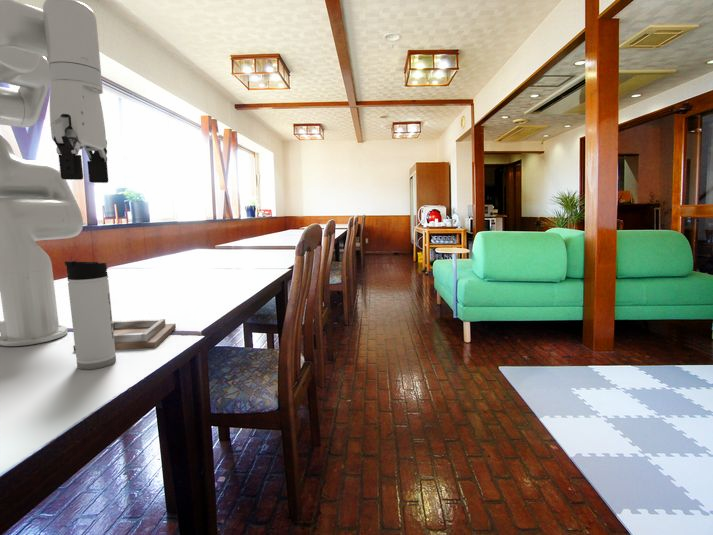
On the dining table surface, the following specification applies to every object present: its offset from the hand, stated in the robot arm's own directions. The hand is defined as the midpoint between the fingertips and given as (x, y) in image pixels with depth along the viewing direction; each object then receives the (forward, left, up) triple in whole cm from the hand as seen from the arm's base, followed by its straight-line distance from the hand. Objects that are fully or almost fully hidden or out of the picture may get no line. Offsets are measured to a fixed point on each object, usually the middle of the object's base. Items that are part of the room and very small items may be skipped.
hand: (86, 181), depth 74 cm
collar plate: (-1, +14, -34) cm, 37 cm away
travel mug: (-1, -1, -34) cm, 34 cm away
